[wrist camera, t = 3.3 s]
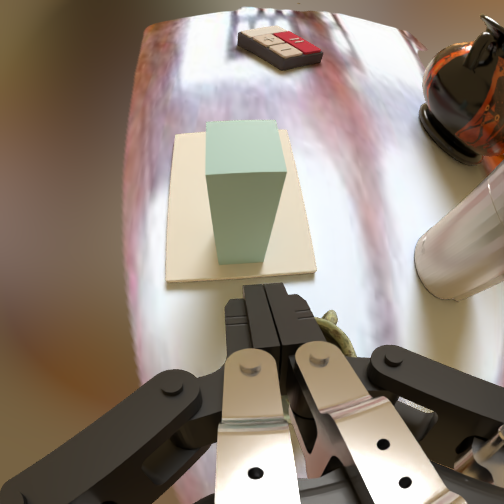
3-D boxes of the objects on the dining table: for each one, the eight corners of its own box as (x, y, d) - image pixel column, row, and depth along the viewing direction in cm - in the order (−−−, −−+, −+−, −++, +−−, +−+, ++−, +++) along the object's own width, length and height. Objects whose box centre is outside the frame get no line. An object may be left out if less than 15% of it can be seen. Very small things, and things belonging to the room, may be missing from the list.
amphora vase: (444, 103, 46) (490, 20, 20) (499, 174, 39) (567, 94, 13) (385, 98, 43) (434, -18, 17) (452, 186, 35) (547, 67, 9)
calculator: (284, 57, 40) (237, 29, 43) (281, 75, 44) (236, 45, 47) (325, 50, 43) (277, 23, 46) (320, 65, 47) (275, 37, 50)
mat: (314, 272, 28) (316, 270, 28) (167, 282, 27) (165, 280, 26) (285, 133, 36) (286, 129, 35) (176, 138, 35) (175, 134, 34)
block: (263, 262, 28) (287, 171, 15) (218, 265, 27) (205, 174, 14) (258, 222, 29) (275, 119, 16) (216, 225, 29) (206, 122, 16)
